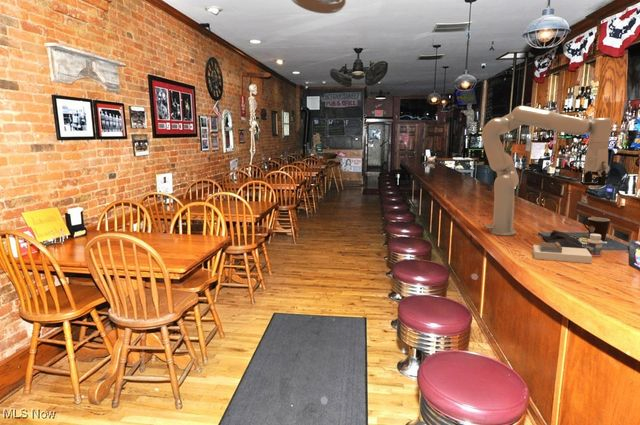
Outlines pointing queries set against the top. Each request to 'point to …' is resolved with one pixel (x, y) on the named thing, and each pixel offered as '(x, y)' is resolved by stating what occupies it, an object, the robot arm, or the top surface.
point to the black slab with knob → (563, 240)
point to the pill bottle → (594, 245)
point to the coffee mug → (597, 226)
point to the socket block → (564, 255)
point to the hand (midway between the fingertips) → (594, 183)
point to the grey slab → (550, 247)
